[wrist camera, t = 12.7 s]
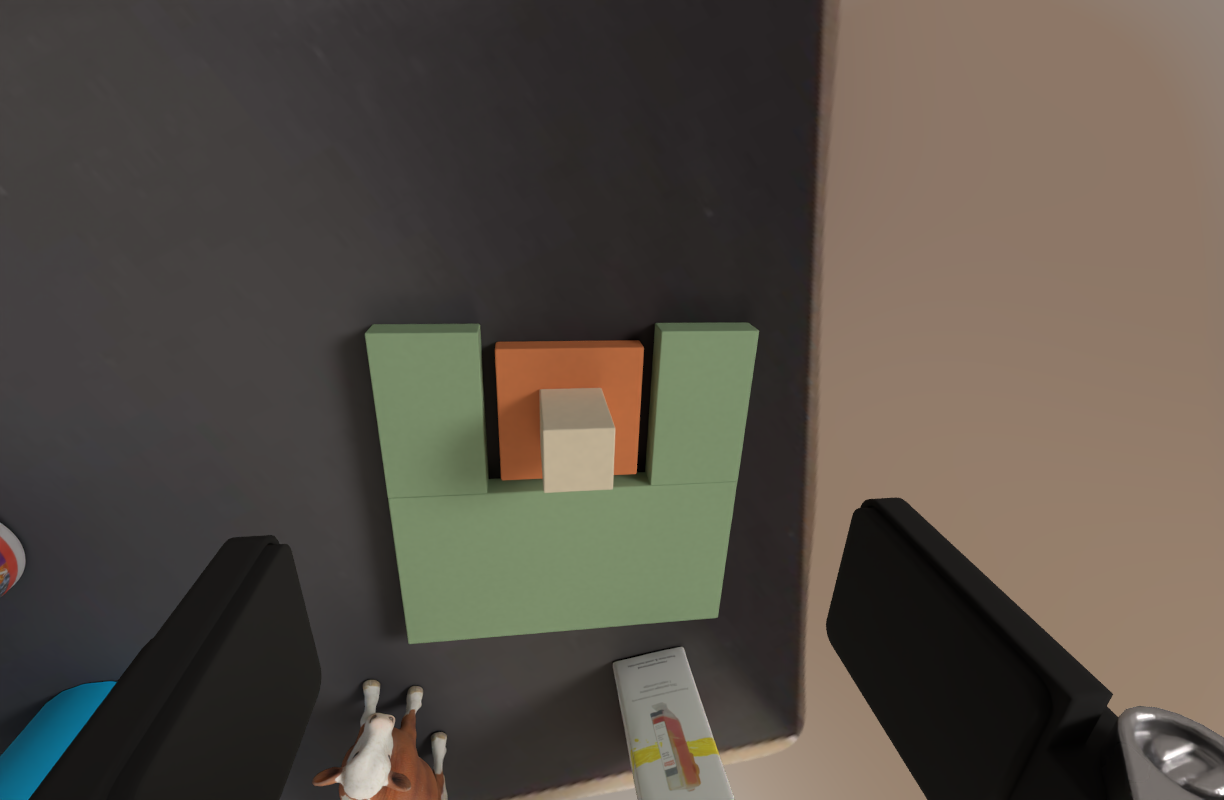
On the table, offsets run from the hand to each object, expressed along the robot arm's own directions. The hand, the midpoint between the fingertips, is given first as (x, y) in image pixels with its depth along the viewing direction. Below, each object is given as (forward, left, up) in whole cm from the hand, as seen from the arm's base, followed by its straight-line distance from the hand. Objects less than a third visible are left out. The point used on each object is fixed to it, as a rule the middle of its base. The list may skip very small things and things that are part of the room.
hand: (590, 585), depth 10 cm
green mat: (-1, +10, -19) cm, 21 cm away
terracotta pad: (-1, +5, -19) cm, 20 cm away
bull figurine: (+9, +26, -19) cm, 33 cm away
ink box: (-7, +27, -19) cm, 34 cm away
